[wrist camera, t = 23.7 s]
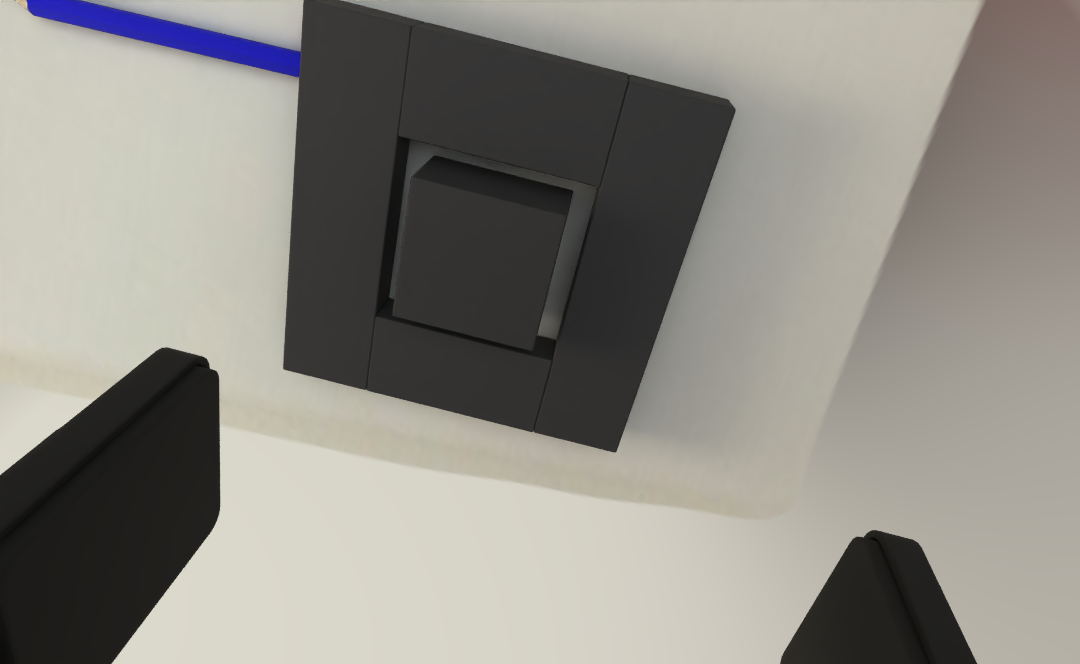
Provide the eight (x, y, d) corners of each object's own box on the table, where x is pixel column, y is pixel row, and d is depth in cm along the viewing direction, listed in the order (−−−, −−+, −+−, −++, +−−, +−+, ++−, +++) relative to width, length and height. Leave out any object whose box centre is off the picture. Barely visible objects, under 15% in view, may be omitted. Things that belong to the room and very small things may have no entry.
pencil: (431, 80, 28) (425, 84, 27) (428, 103, 28) (422, 108, 27) (18, -16, 28) (-1, -15, 27) (22, 8, 28) (3, 10, 28)
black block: (573, 190, 29) (567, 216, 26) (541, 315, 32) (532, 351, 29) (433, 154, 29) (410, 176, 26) (414, 282, 32) (391, 316, 29)
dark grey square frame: (729, 99, 27) (736, 108, 25) (616, 428, 34) (616, 453, 33) (324, -4, 27) (302, -3, 25) (300, 349, 34) (282, 369, 33)
